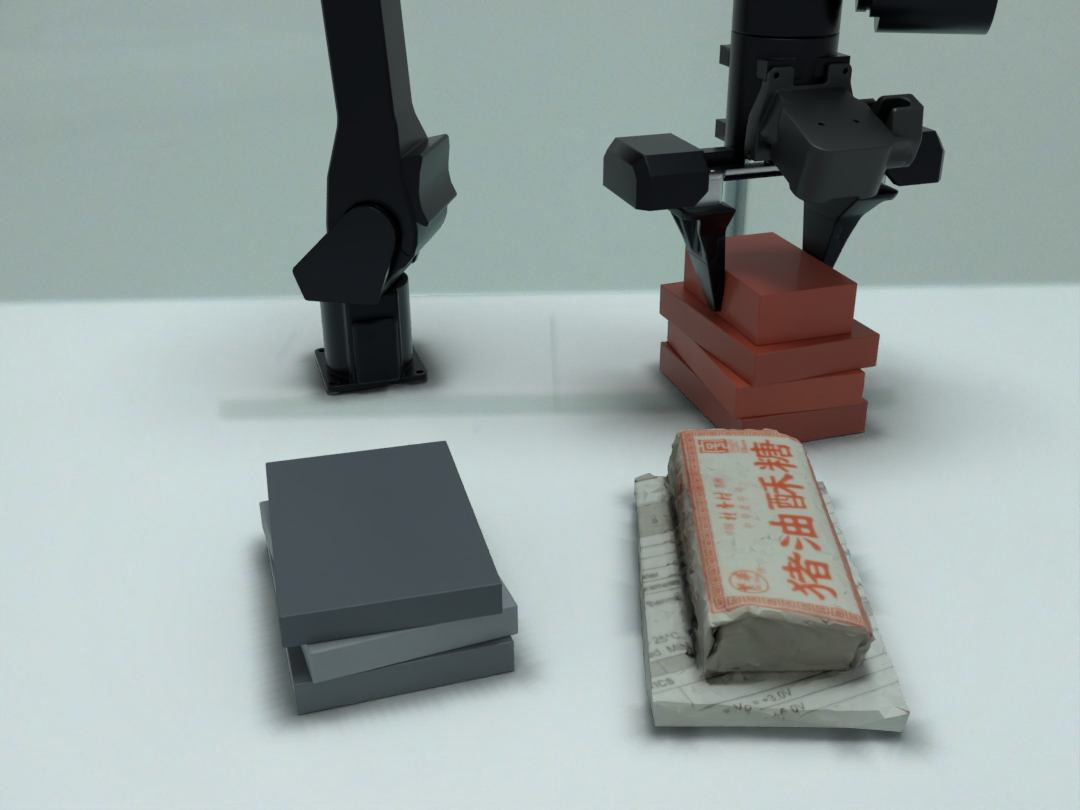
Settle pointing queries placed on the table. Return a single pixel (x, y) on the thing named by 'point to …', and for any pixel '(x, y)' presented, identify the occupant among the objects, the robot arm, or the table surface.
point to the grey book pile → (382, 576)
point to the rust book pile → (765, 373)
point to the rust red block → (779, 291)
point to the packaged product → (754, 593)
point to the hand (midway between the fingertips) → (762, 303)
